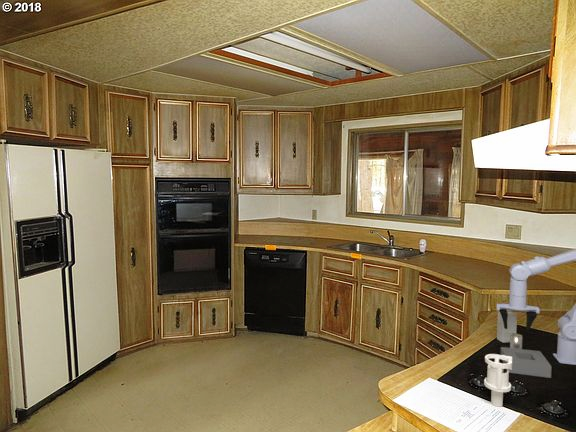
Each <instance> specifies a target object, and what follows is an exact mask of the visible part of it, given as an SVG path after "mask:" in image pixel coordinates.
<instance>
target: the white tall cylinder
mask: <svg viewBox="0 0 576 432" xmlns="http://www.w3.org/2000/svg"><path fill="white" fill-rule="evenodd" d="M490 359H494V361H492V360H490ZM500 360H501V361H502V360H505V361H507V362H508V363H506V364H504V363H503V362H500ZM484 362H485V363H486V364H487V371H486V372H487V375H486V376H487V377H485V378H484V382H483V384H484V387H486V388H487V389H489V390H491V393H490V394H491V396H490V397H491V399H490V404H491V405H492V406H493V407H497V408H502V407H503V401H504V393H508V392H510V391H511V390H512V384H511V382H509V377H510V376H509V375H510V373H509V371H508V370H506V369H510V370H512V357H511V356H505V355H501V354H497V353H489V354H485V356H484ZM504 370H506V372H504Z"/></svg>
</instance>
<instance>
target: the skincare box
mask: <svg viewBox="0 0 576 432" xmlns="http://www.w3.org/2000/svg"><path fill="white" fill-rule="evenodd" d="M507 313H508V318H507V329H505V328H504V323H503V319H502V316H501V314H500V311H497V322H496V323H497V326H496V328H497V329H496V339H497V340H498V341H499V342H501V343H510V335H511V333H516V334H517V328H518V327H517V324H518V321H517V320H518V314H517V313H515V312H513V311H511V310H508V311H507Z"/></svg>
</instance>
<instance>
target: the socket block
mask: <svg viewBox="0 0 576 432" xmlns="http://www.w3.org/2000/svg"><path fill="white" fill-rule="evenodd" d="M500 355H505V356H511V357H512V370H510V369H505V371H507V370H508V371H509V374H510V373H511V374H518V375H525V376H533V377H541V378H547V379H548V378H550V379H551V378H552V365H551V364H550V362H549V361H548V360H547V358H546V357H545V356H544V355H543V353H542V352H541V351H540V350H531V349H523V348H522V349H515V348H510V347H506V346H504V347H503V346H500ZM501 361H502V364H506V363H508V362H507V361H505V360H502V359H501Z"/></svg>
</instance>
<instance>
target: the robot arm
mask: <svg viewBox="0 0 576 432" xmlns="http://www.w3.org/2000/svg"><path fill="white" fill-rule="evenodd" d="M574 261H576V248H573V249H570V250H567V251H565V252H561V253H559V254H557V255H554V256H551V257H544V256H539V255H537V256H534V258H532V259H528V260H525V261H524V260H521V262H520V263H519V262H517V263H513V264H512V265H510V267H509V274H510V279H509V280H510V282H509V298H508V299H509V301H508V302H509V303H496V304H495V305H496V306H495V309H496V310H497V311H498V312H500V314H501V316H502V319H503V323H504V328H505V329H507V318H508V313H507V312H508V311H511V312H513V311H514V312H522V313H523V312H525V313H526V322H525V323H526V325H525V329H526V332H530V331H531V328H532V325H533V323H534V321H535V319H536V318H537V316H538V314H540V312H541V309H540V307H538V306H532V305H528V304H527V293H528V292H527V291H528V283H527V280H528V278H529V277H533V276H535V275H540V274H543V273H546V272H549V271H550V269H551V268H552V267H555V266H559V265H562V264H566V263H571V262H574ZM557 326H558V328H559V329H560V330H559V332H558V333H557V346H556V348H557V350H556V353H552V355H553V357H554V358H555V359H556V360H557V361H558V363H559V364H564V365H565V364H567V365H572V366H573V365H575V366H576V302H575V303H574V305H573V307H572V308H571V309H570V310H568V311H566V313H565V314H564V315H563V316H561V317H560V318H559V319H558V320H557Z"/></svg>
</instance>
